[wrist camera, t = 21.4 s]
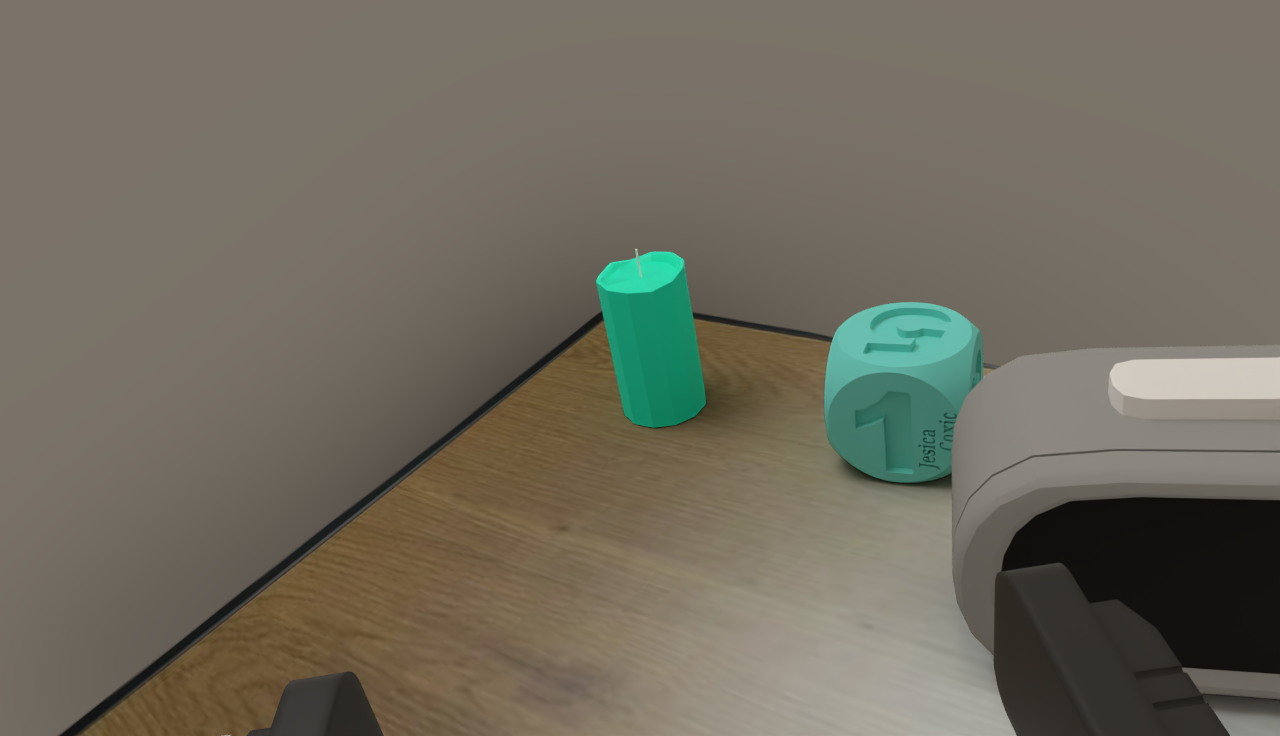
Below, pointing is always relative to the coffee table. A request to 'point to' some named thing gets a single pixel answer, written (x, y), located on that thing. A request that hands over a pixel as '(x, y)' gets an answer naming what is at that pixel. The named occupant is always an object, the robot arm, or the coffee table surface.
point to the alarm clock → (1133, 495)
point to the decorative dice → (900, 388)
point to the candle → (652, 338)
